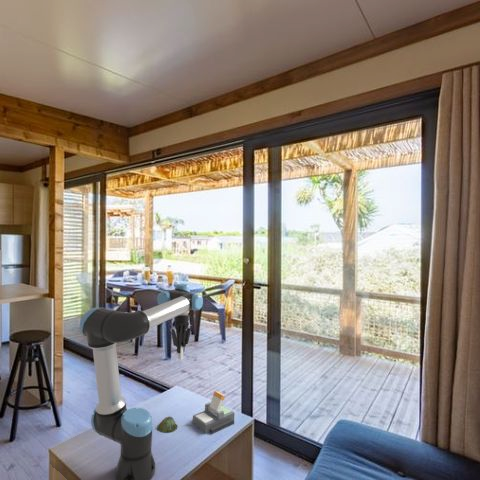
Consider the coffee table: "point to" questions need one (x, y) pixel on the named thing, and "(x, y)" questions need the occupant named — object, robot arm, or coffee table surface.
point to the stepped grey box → (211, 418)
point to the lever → (216, 402)
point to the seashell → (167, 425)
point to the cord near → (221, 426)
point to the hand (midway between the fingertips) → (180, 358)
